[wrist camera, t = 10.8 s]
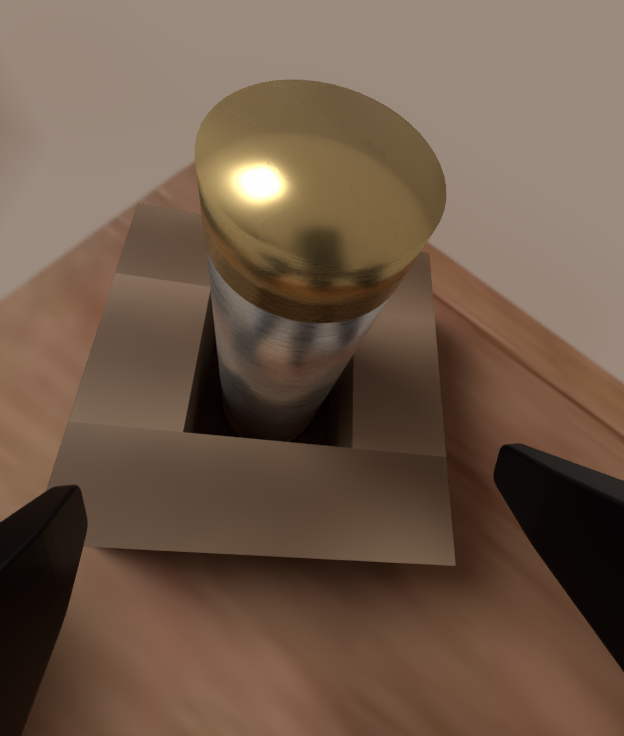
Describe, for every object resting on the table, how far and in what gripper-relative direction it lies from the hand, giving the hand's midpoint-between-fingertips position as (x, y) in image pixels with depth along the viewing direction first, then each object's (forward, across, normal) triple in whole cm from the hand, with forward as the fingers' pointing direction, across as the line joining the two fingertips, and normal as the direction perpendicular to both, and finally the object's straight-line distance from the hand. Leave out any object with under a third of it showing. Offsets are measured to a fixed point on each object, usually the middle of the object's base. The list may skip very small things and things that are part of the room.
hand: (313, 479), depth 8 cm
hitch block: (+9, 0, +2) cm, 9 cm away
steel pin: (+9, 0, +2) cm, 9 cm away
